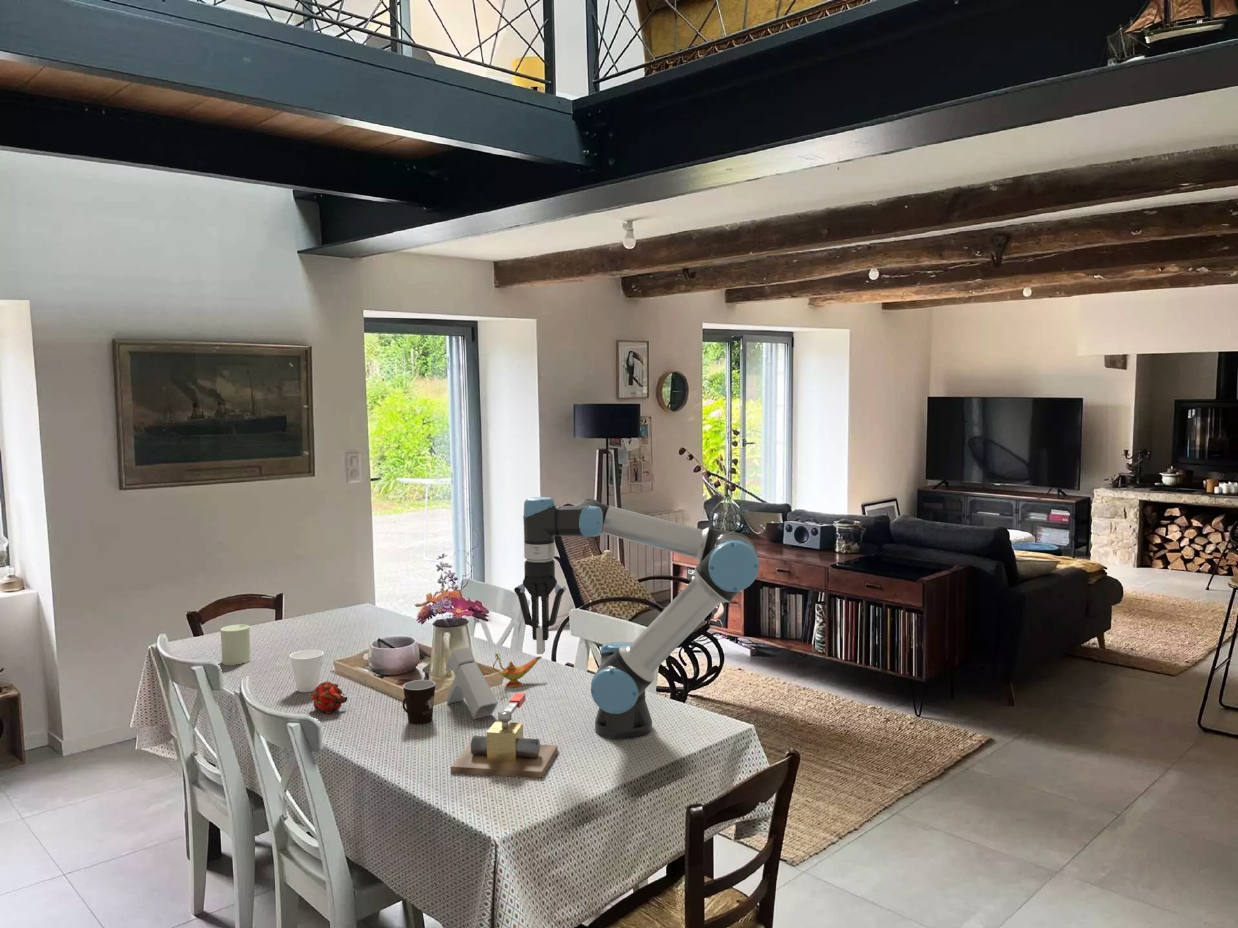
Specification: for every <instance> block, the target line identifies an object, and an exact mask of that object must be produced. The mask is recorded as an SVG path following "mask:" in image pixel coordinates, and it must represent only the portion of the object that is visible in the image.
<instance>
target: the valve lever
mask: <svg viewBox="0 0 1238 928" xmlns="http://www.w3.org/2000/svg"><path fill="white" fill-rule="evenodd" d="M525 702H526V693H522V692H521V693H520V692H519V693H517V692H515V693H514V694H513V696H511V698H510V699H509V704H508V705H507V706H506V707H505V708H504V710H500V711H498V712H497V720H498V722H507V721H508V722H510V721H512V719H513V718H512V715H513V713H514V712H515V711H516V709H520V708H521V707H522V705H524V703H525Z"/></svg>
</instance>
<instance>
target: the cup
mask: <svg viewBox="0 0 1238 928" xmlns="http://www.w3.org/2000/svg"><path fill="white" fill-rule="evenodd" d="M324 654H325V653H324V651H322V650H319V649H305V650H303V649H302V650H299V651H295V652H292V653H290V654H289V655H288V657H289V659H290V663H291V667H292V671H293V676H294V681H295V686H296V690H297V691H298V692H299V693H314V692H315V691H314V690H315V688H316V687H317V686H318V685H320V678H321V670H322V663H323V656H324Z"/></svg>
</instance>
